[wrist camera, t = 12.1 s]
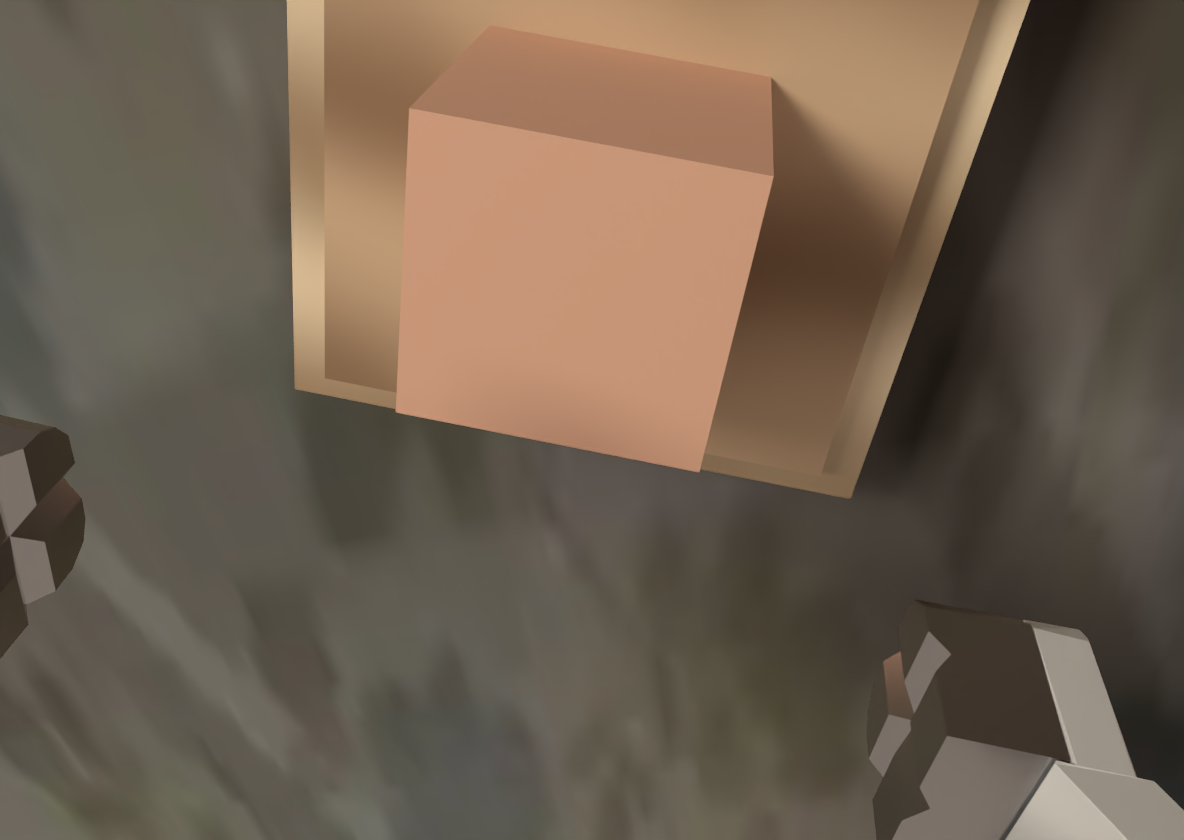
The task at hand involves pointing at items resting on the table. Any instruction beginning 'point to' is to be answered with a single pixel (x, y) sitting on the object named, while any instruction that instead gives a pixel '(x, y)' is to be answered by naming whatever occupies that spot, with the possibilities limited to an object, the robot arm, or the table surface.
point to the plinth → (791, 220)
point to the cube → (579, 243)
